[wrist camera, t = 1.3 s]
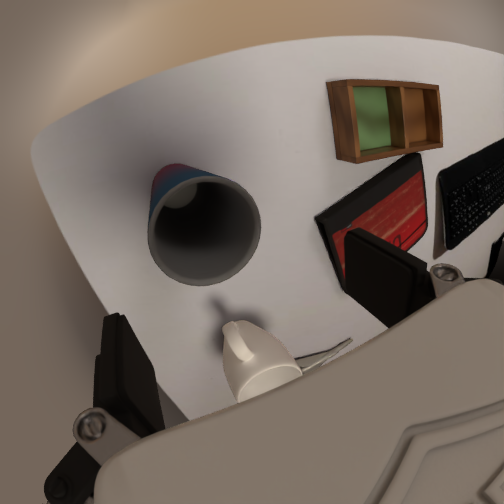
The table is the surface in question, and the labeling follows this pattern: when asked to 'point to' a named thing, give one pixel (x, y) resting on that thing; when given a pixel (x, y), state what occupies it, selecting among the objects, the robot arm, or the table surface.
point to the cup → (201, 225)
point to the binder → (380, 210)
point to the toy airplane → (319, 358)
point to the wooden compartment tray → (384, 118)
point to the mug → (255, 360)
